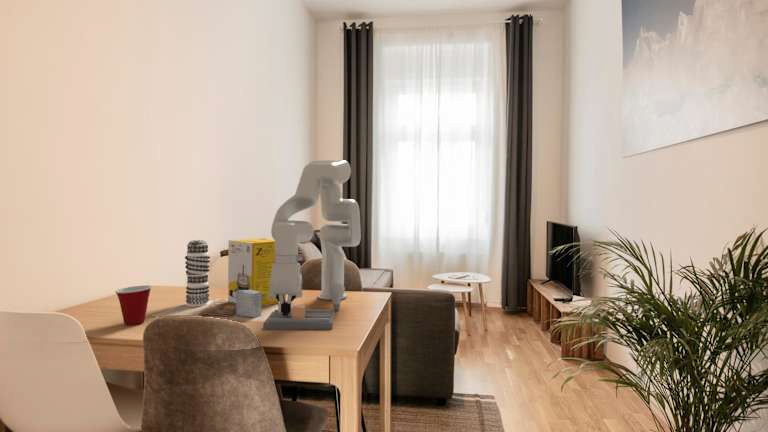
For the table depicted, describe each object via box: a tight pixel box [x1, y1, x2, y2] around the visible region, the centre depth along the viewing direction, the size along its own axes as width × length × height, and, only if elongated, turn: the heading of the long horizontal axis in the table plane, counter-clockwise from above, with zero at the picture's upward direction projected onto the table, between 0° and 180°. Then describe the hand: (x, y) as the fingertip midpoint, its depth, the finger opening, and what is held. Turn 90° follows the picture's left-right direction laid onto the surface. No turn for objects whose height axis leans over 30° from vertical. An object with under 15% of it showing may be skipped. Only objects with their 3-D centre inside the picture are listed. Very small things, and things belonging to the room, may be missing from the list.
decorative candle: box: [184, 239, 211, 308], centre depth 180 cm, size 9×9×25 cm
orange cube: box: [291, 305, 306, 318], centre depth 152 cm, size 3×4×4 cm
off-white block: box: [277, 300, 291, 313], centre depth 159 cm, size 3×4×4 cm
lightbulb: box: [329, 281, 346, 311], centre depth 174 cm, size 6×6×11 cm
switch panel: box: [263, 309, 336, 330], centre depth 156 cm, size 15×22×3 cm
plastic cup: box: [114, 285, 153, 326], centre depth 152 cm, size 11×11×12 cm
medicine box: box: [235, 290, 262, 318], centre depth 165 cm, size 8×4×9 cm, turn 65°
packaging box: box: [227, 237, 287, 307], centre depth 186 cm, size 16×16×25 cm
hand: (285, 314), depth 152 cm, fingers closed
